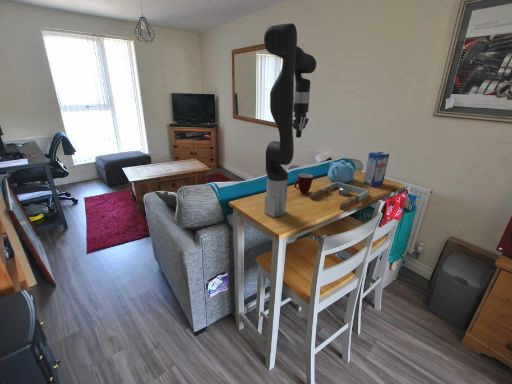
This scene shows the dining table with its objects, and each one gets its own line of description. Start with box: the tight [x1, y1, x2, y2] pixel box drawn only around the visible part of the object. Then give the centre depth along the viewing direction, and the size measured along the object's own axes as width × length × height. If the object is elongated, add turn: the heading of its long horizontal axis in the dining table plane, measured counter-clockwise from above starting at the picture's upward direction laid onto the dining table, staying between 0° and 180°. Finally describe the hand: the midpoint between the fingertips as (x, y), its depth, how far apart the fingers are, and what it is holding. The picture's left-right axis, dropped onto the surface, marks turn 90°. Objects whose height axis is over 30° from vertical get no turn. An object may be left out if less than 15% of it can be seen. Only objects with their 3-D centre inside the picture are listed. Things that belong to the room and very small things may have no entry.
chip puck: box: [338, 187, 351, 197], centre depth 143 cm, size 6×6×4 cm
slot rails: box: [309, 186, 358, 211], centre depth 134 cm, size 16×19×3 cm
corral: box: [324, 181, 370, 202], centre depth 144 cm, size 13×20×3 cm, turn 46°
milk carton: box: [363, 151, 390, 188], centre depth 157 cm, size 10×6×20 cm, turn 115°
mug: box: [293, 173, 313, 194], centre depth 143 cm, size 11×8×10 cm
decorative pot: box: [327, 159, 356, 184], centre depth 163 cm, size 16×16×14 cm
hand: (298, 137), depth 132 cm, fingers closed
